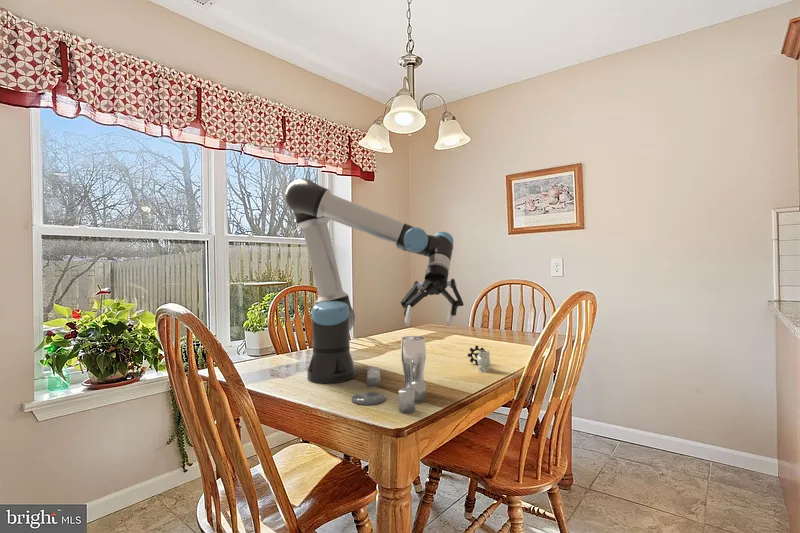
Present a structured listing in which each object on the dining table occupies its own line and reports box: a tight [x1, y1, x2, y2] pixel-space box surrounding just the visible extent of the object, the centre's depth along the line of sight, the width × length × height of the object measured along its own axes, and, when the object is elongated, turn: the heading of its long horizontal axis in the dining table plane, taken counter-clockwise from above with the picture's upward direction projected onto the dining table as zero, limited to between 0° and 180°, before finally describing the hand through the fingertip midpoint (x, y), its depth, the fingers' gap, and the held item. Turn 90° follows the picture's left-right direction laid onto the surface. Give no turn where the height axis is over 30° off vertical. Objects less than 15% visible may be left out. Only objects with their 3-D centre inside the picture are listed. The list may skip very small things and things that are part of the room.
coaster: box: [350, 391, 386, 406], centre depth 116 cm, size 9×9×1 cm
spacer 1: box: [365, 366, 381, 388], centre depth 130 cm, size 4×4×5 cm
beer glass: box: [400, 335, 427, 388], centre depth 123 cm, size 7×7×15 cm
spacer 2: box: [397, 388, 416, 415], centre depth 107 cm, size 4×4×5 cm
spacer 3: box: [410, 379, 427, 404], centre depth 115 cm, size 4×4×5 cm
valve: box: [467, 345, 491, 373], centre depth 149 cm, size 7×7×12 cm
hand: (427, 324), depth 134 cm, fingers open, 13 cm apart
